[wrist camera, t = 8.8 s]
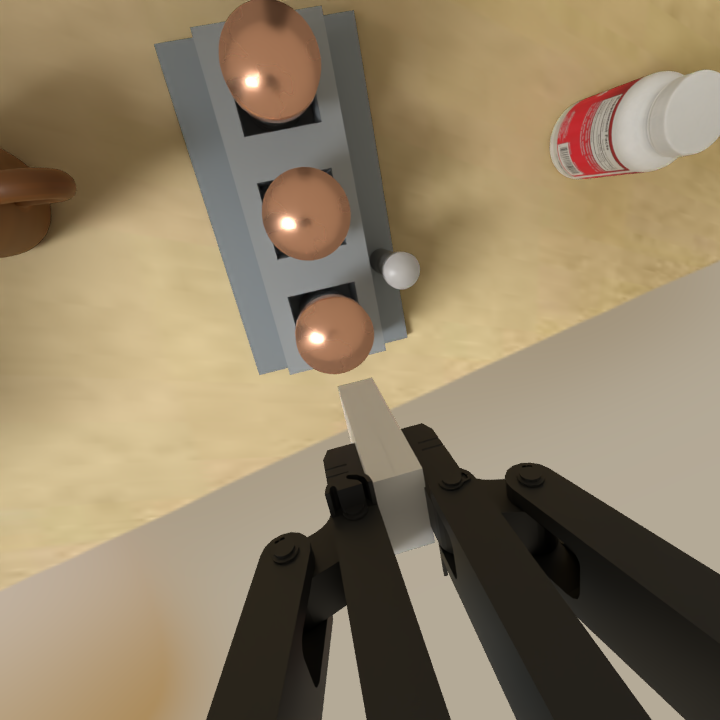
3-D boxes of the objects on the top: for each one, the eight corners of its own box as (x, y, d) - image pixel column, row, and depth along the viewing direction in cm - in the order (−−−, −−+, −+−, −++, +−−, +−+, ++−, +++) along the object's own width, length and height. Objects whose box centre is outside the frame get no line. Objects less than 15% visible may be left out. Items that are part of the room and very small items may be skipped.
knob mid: (277, 255, 33) (275, 269, 26) (258, 185, 31) (250, 177, 24) (340, 241, 34) (358, 250, 26) (326, 171, 32) (340, 158, 24)
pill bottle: (622, 113, 35) (761, 74, 25) (593, 188, 37) (712, 179, 27) (562, 90, 34) (684, 37, 24) (535, 168, 36) (638, 151, 25)
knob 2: (301, 345, 36) (306, 382, 29) (285, 286, 34) (286, 308, 27) (359, 331, 37) (380, 363, 29) (347, 272, 35) (366, 289, 27)
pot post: (369, 278, 36) (388, 293, 29) (363, 248, 35) (381, 256, 28) (397, 271, 36) (422, 284, 30) (392, 241, 35) (417, 248, 29)
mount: (259, 372, 37) (256, 395, 33) (156, 47, 28) (131, 15, 24) (405, 335, 39) (422, 352, 34) (352, 13, 30) (365, -23, 25)
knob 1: (248, 148, 30) (236, 126, 23) (225, 63, 28) (204, 7, 21) (318, 134, 31) (330, 108, 23) (300, 49, 29) (307, -10, 21)
